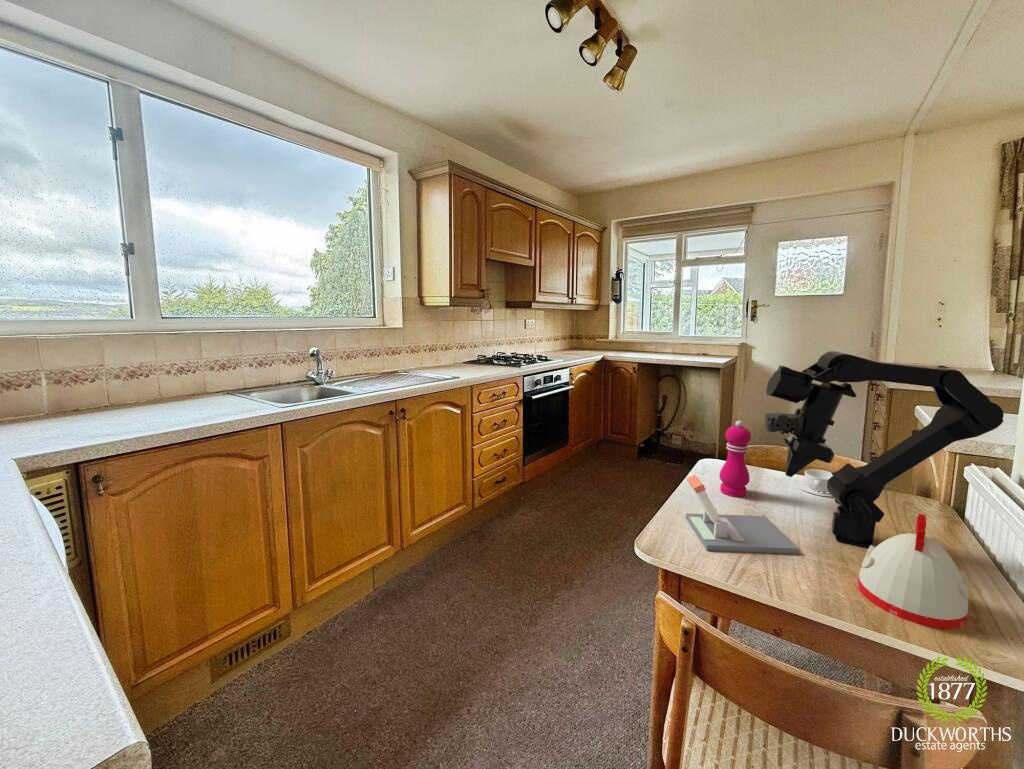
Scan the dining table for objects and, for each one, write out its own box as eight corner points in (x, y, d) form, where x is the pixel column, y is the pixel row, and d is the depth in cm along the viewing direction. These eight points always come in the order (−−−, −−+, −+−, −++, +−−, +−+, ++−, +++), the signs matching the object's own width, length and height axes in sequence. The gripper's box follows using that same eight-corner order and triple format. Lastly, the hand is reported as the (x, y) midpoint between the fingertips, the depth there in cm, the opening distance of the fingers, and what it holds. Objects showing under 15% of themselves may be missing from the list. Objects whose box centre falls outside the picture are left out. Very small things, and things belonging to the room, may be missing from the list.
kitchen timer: (962, 597, 76) (978, 517, 73) (970, 642, 66) (989, 551, 63) (860, 566, 85) (871, 493, 82) (853, 602, 75) (866, 520, 72)
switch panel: (764, 520, 103) (766, 503, 102) (797, 553, 89) (800, 533, 88) (685, 518, 104) (686, 500, 104) (706, 550, 91) (708, 530, 90)
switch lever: (714, 510, 99) (694, 474, 98) (723, 521, 94) (702, 484, 93) (705, 514, 99) (686, 478, 98) (714, 525, 94) (694, 488, 93)
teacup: (802, 480, 127) (804, 464, 126) (844, 490, 120) (847, 474, 119) (793, 490, 120) (795, 474, 119) (837, 501, 113) (840, 484, 112)
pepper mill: (745, 500, 114) (752, 425, 110) (715, 493, 118) (721, 421, 114) (750, 491, 119) (757, 419, 116) (721, 484, 124) (727, 415, 120)
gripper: (768, 390, 103) (743, 450, 107) (785, 405, 86) (755, 475, 90) (821, 406, 100) (793, 467, 104) (850, 425, 83) (815, 497, 87)
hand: (788, 475), depth 96 cm, fingers closed
